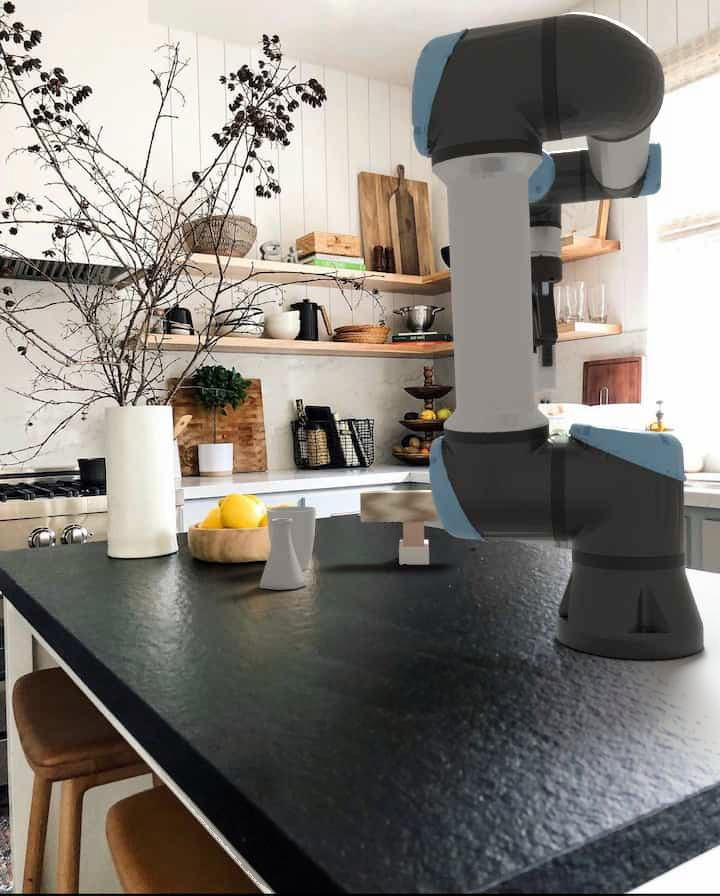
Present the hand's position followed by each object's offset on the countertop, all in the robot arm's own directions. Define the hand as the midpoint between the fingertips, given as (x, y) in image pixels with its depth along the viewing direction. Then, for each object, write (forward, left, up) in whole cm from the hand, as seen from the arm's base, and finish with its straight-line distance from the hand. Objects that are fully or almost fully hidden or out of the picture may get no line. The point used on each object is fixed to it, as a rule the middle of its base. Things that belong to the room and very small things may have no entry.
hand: (539, 390), depth 133 cm
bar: (-9, +20, -22) cm, 31 cm away
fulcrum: (-9, +20, -29) cm, 36 cm away
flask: (-38, +20, -29) cm, 52 cm away
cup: (-28, +30, -29) cm, 50 cm away
